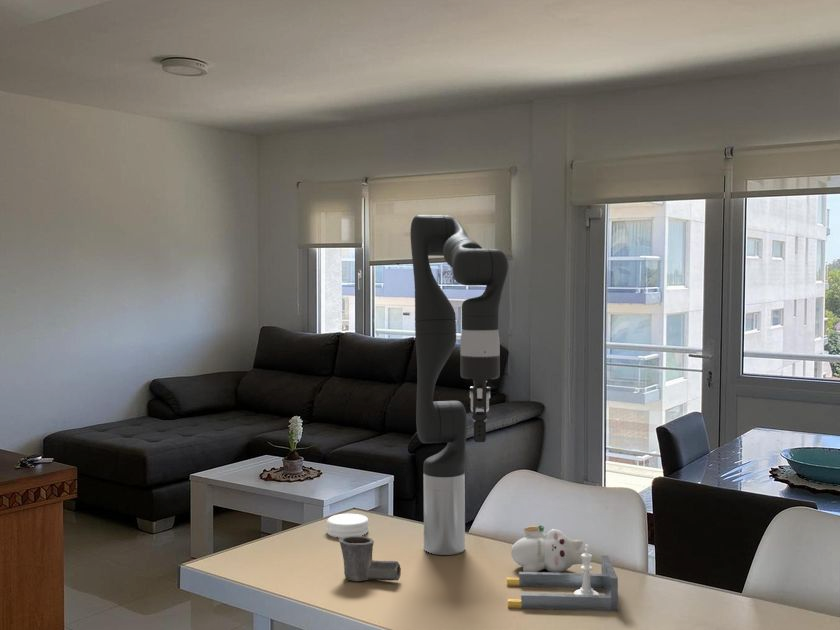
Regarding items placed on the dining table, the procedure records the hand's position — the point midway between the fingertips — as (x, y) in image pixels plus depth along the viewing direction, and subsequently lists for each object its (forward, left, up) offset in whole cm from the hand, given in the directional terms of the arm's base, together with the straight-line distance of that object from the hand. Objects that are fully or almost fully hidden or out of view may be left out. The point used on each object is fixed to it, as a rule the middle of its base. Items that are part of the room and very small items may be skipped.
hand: (479, 437), depth 151 cm
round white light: (-35, -32, -30) cm, 56 cm away
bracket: (+2, +16, -30) cm, 33 cm away
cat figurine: (-12, +14, -30) cm, 35 cm away
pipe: (-4, -22, -30) cm, 38 cm away
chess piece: (+2, +20, -30) cm, 36 cm away
